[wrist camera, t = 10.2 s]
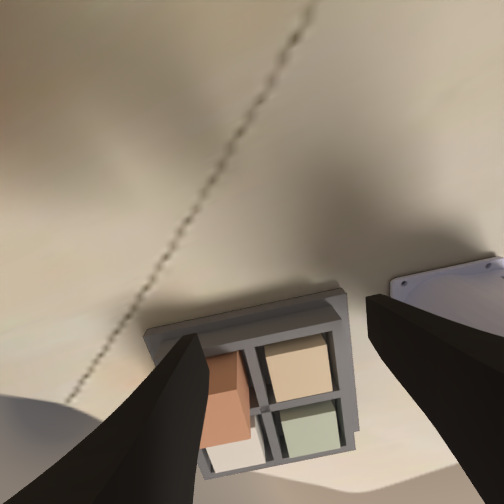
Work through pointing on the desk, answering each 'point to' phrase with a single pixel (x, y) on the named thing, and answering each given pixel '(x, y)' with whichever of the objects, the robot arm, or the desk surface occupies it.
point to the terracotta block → (226, 401)
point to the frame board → (257, 368)
